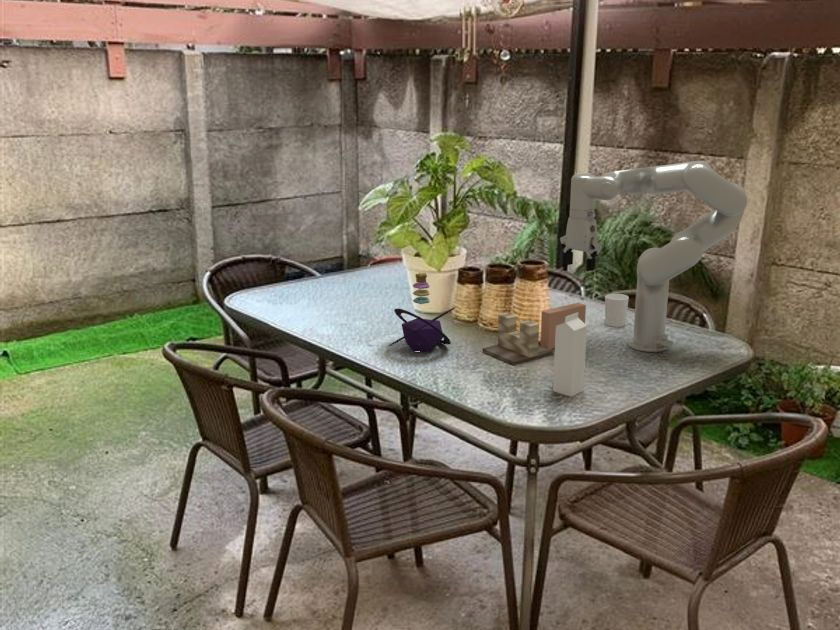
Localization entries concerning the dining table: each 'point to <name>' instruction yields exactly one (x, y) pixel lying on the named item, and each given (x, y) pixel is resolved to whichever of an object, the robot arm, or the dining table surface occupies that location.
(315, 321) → the dining table surface
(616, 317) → the white cup
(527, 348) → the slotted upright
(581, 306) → the brown arch block
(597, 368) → the dining table surface
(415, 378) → the dining table surface
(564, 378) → the milk
